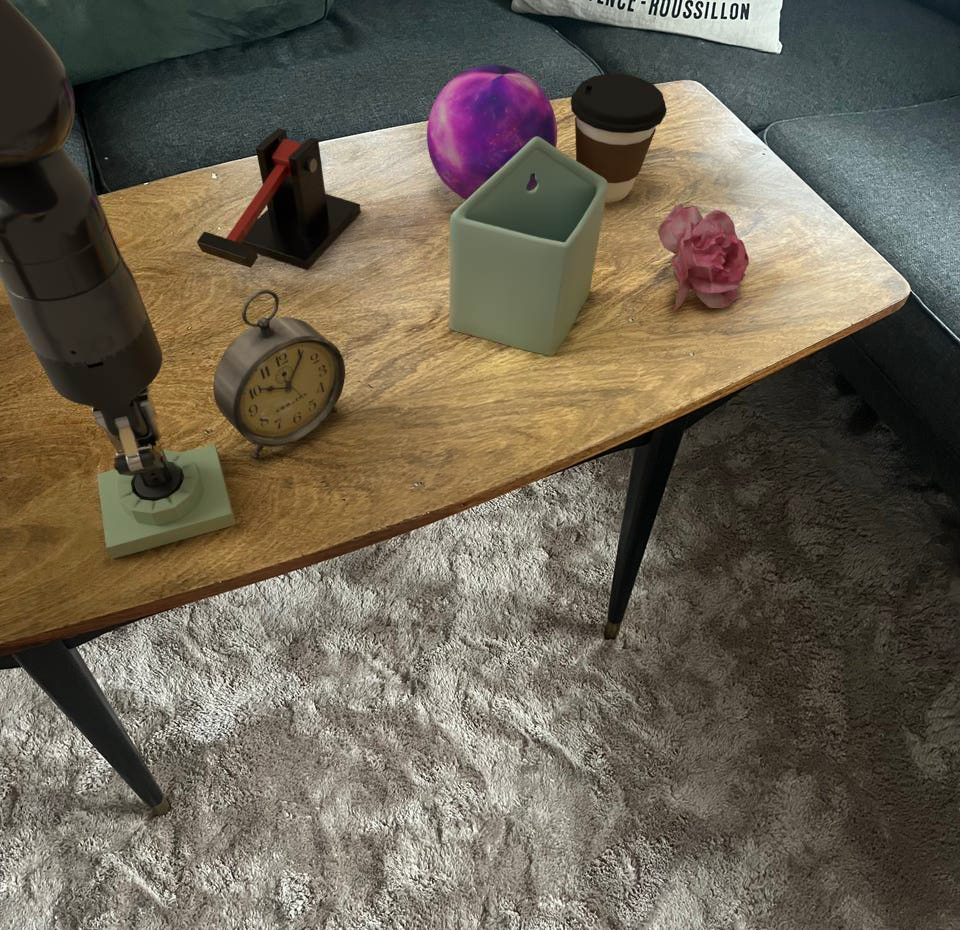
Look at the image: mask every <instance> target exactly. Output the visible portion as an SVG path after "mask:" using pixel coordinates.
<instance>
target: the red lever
mask: <svg viewBox="0 0 960 930" xmlns="http://www.w3.org/2000/svg"><path fill="white" fill-rule="evenodd" d="M287 139H288V138H287ZM287 139H284V140H283V141H282V142H281V144H280V145H279V147H278V148H277V150H276V151H275V152H274V154H273V155H272V160H273V162H274V165H275V168H274V169H273V171H272V172H271V174H270V175H269V177H268V178H267V180H266V181H265V183H264V184H263V183H262V185H261V187H260V188H259V190H258V191H257V193H256V194H255V195H254V197H253V198H252V199H251V201H250V202H249V205H247V207H246V208H245V210H244V212H243V213H242V215H241V216H240V217H239V218H238V220H237V222H236V223H235V224H234V225H233V227H232V229H231V231H229V233H228V234H227V236H226V237H223V236H219V235H218V234H214V233H210V232H209V231H203V232H202V234H201V235H200V236H199V238H198V239H197V240H196V244H197V246H198V247H199V250H200V252H202V253H204V254H207V255H210V256H213V257H215V258H219V259H222V260H226V261H229V262H232V263H234V264H238V265H241V266H243V267H246V268H249V269H252V267H253V266H254V264H255V263H256V261H257V260H258V259H259V256H258V255H259V254H257V253H256V251H255V249H254V248H253V247H251V246H248V245H244V244H241V242H242V241H243V239H244V238H245V236H246V235H247V233H248V232H249V231H250V229H251V228H252V226H253V225H254V223H255V222H256V220H257V219H258V218H259V217H260V216H261V215H262V214H263V212H264V210H265V208H267V204H268V202H269V201H270V200H271V198H272V197H273V195H274V194H275V192H276V191H277V189H278V188H279V186H280V185H281V183H282V182H283V180H284V179H285V177H286V176H288V177H291V171H290V165H289V158H288V157H289V156H290V155H291V154H292V153H293V152H294V151H296V150H297V149H298V148H299V147H300V146H301V145H302V144H303V143H300V142H297V141H294V140H290V139H288V140H287Z"/></svg>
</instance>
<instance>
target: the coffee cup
mask: <svg viewBox="0 0 960 930" xmlns="http://www.w3.org/2000/svg"><path fill="white" fill-rule="evenodd" d="M664 99H665V98H664V94H663V92H662V91H661V90H660V89H659V88H658V87H657V86H656V85H655V84H654V83H651V82H650V81H648V80H646V79H644V78H641V77H638V76H634V75H630V74H625V73H605V74H598V75H593V76H591V77H588V78H586V79H585V80H583V81H581V82H580V84H579V85H578V86H577V88H576V89H575V91H574V92H573V93H572V95H571V97H570V108H571V112H572V113H573V114H574V115H575V117H574V128H575V129H574V131H575V160H576V161H577V162H579V163H580V164H582V165H584V166H585V167H587V168H588V169H590V170H591V171H593V172H595V173H596V174H598V175H600V176H602V177H603V178H605V179H606V181H607V183H608V187H607V194H606V200H605V203H615V202H620V201H621V200H623V199H625V198H626V197H627V196H628V195H629V194H630V193H631V191H632V189H633V187H634V184H635V182H636V179H637V177H638V175H639V173H640V171H641V170H642V168H643V165H644V162H645V160H646V157H647V154H648V152H649V149H650V146H651V144H652V142H653V138H654V136H655V133H656V132H657V131H656V130H657V129H656V128H657V126H659V125H661V124H662V122H663V121H664V119H665V117H666V115H667V111H668V110H667V105H666V101H665V100H664Z"/></svg>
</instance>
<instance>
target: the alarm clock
mask: <svg viewBox="0 0 960 930" xmlns="http://www.w3.org/2000/svg"><path fill="white" fill-rule="evenodd" d="M265 294H267V295H271V296H272V297H273V299H274V307H273V308H274V309H273V310H272V313H271V314H270V315H269V316H268V317H265V316H263V317H260V318H258V319H257V323H253V322H250V321H249V320H248V319H247V311H248V307H249V306H250V304H251V302H252V301H254V299H256V298H257V297H259V296H261V295H265ZM279 305H280V299H279V296H278V294H277V293H276V292H275V291H273V290H271V289H265V288H263V289H261V290H258V291H256V292H254V293H253V294H251V295H250V296H249V297H248V298H247V300H246V301H245V302H244V304H243V307H242V310H241V318H242V320H243V322H244V323H245V324H246V325H247V326H250V327H248V328H246V329H245V330H244V331H243V332H241V333H240V334H239V335H238V336H237V337H235V338H234V340H233V341H232V342H231V343H230V344H229V345H228V347H226V349H225V350H224V352H223V354H222V355H221V357H220V359H219V361H218V363H217V366H216V369H215V371H214V372H215V373H214V377H213V382H212V383H213V385H212V387H213V388H212V390H213V397H214V401H215V404H216V406H217V408H218V410H219V412H220V413H221V414H222V416H223V417H224V418H225V419H226V420H227V421H228V422H229V423H230V424H231V425H232V426H233V427H234V429H236V430H237V432H238V433H239V434H240V435H241V437H242V438H244V439H245V440H246V441H248V442H249V443H251V444H254V445H255V449H254V452H253V453H252V458H253V459H254V460H259V459H260V456H261V455H260V453H261V452H262V451H263V449H264V447H267V448H273V447H282V446H284V445H290V444H292V443H294V442H296V441H298V440H301V439H302V438H304V437H306V436H308V435H309V434H310V433H312V432H314V431H315V430H316V429H317V428H318V427H319V426H320V425H321V424H322V423H323V422H324V421H325V420H326V419H327V418H328V417H329V415H330V414H331V413H332V414H333V415H335V414H337V413H338V408H337V406H336V405H337V403H338V401H339V399H340V397H341V394H342V391H343V389H344V386H345V379H346V365H345V360H344V358H343V355H342V353H341V351H340V349H339V348H338V347H337V346H336V345H335V344H334V342H331V341H329V340H328V339H327V338H326V337H325V335H323V334H321V333H320V332H319V331H318V330H317V329H316V328H314V327H313V326H312V325H311V324H309V323H307V322H306V321H304V320H302V319H298V318H296V317H295V318H294V317H287V316H282V317H281V316H280V317H275V315H277V313H278V310H279V307H280V306H279Z"/></svg>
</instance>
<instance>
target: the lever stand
mask: <svg viewBox="0 0 960 930" xmlns="http://www.w3.org/2000/svg"><path fill="white" fill-rule="evenodd" d="M284 139H287V140H289V139H288V134H287V130H286V129H283V128H281V127H277V128H276V129H275V130H274V131H273V132H272V133H271V134H269V135H268V136H267V137H266V138H265V139H263V140H262V141H260V143H259V144H258V145H257V146H255V153H256V157H257V162H258V169H259V173H260V178H261V182H262V185H263V184H264V183H265V181H266V180H267V178H268V177H269V175H270V174H271V172H272V171H273V169H274V168H275V165H274V162H273V160H272V155H273V154H274V152H275V151H276V150H277V148H278V147H279V145H280V144H281V142H282V141H283V140H284ZM301 144H302V145H301V146H300V147H299V148H298V149H297V150H296V151H294V152H293V153H292V154H291V155H290V156H289V157H288V158H289V165H290V171H291V177H288V176H286V177H285V179H284V180H283V182H282V183H281V185H280V186H279V188H278V189H277V191H276V192H275V194H274V195H273V197H272V198H271V200H270V201H269V202H268V204H267V205H266V210H265V211H263V212H262V213H261V214H260V216H259V217H258V219H257V220H256V222H255V223H254V225H253V226H252V228H251V229H250V231H249V232H248V233H247V235H246V236H245V238H244V239H243V241H242V242H241V244H244V245H248V246H251V247H253V248H254V249H255V251H256V253H257V255H260V256H263V257H267V258H269V259H272V260H275V261H279V262H282V263H285V264H288V265H291V266H294V267H298V268H299V269H303V270H306V271H308V270H309V269H310V268H311V266H312V265H313V264H314V263H315V262H316V261H317V260H318V259H319V258H320V257H321V256H322V255H323V254H324V253H325V252H326V250H327V249H329V247H330V246H331V245H332V244H333V243H334V242H335V241H336V240H337V239H338V238H339V237H340V236H341V234H342V233H343V232H344V231H345V230H346V229H347V228H348V227H349V226H350V225H351V224H352V223H353V222H354V220H355V219H357V217H358V216H359V215H360V214H361V204H360V203H358V202H354V201H352V200H347V199H345V198H342V197H338V196H335V195H332V194H328V193H326V187H325V181H324V173H323V165H322V157H321V149H320V142H319V139H318V138H316V137H311V136H310V137H309V138H308V139H306V140H305V141H304V142H303V143H301Z"/></svg>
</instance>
